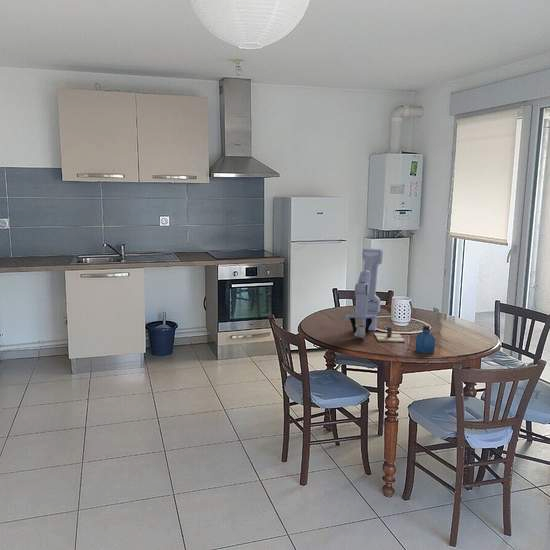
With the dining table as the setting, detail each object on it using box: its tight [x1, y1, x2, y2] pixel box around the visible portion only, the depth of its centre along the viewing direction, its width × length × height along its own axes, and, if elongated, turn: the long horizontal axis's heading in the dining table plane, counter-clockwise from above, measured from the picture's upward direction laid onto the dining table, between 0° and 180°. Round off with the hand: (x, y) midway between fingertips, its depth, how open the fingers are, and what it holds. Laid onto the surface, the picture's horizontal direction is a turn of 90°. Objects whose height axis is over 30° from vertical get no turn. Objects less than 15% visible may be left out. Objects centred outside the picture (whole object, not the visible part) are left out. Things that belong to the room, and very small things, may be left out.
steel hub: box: [354, 324, 367, 338], centre depth 269 cm, size 6×6×5 cm
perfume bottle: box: [415, 325, 436, 354], centre depth 250 cm, size 6×6×12 cm
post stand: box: [373, 326, 406, 343], centre depth 270 cm, size 13×13×6 cm
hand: (360, 332), depth 269 cm, fingers closed on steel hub, 5 cm apart
